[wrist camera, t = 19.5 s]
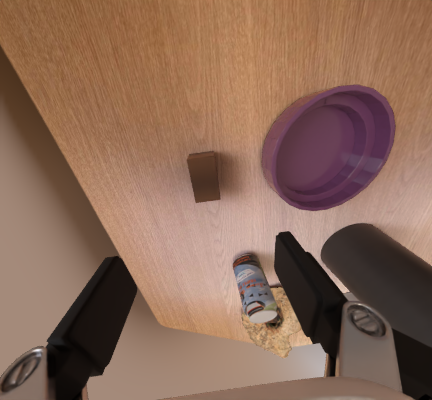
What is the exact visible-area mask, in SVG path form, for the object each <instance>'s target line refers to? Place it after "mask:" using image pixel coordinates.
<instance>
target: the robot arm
mask: <svg viewBox="0 0 432 400" xmlns="http://www.w3.org/2000/svg"><path fill="white" fill-rule="evenodd" d="M274 269H275V272H276V274H277V276H278V279H279V281H280V283H281V285H282V287H283V289H284V291H285V294H286V296H287V298H288V300H289V302H290V304H291V306H292V308H293V311H294V313H295V315H296V317H297V319H298V321H299V323H300V325H301V328H302V330H303V332H304V334H305V335H306V336H307V337H310V339H311V341H312V343H313V344H316V343H320V344H321V346H322V347H323V349H324V351H325V352H326V353H327V354H326V364H325V374H324V377H319V378H310V379H301V380H292V381H284V382H276V383H270V384H262V385H255V386H248V387H241V388H234V389H227V390H220V391H213V392H207V393H200V394H193V395H186V396H180V397H173V398H166V399H159V400H432V348H431V347H429V346H427V345H425V344H423V343H421V342H419V341H417V340H415V339H413V338H411V337H409V336H407V335H405V334H403V333H401V332H399V331H397V330H395V329H393V328H391V326H390V324H389V323H388V321H387V320H386V318H385V317H384V316H383V315H382V314H381V313H380V312H378V311H377V310H376V309H374V308H373V307H371V306H369V305H367V304H365V303H363V302H360V301H348V299H347V298H346V297H345V296H344V294H343V293H342V292H341V291H340V289H339V288H338V287H337V286H336V284H335V283H334V282H333V281H332V279H331V278H330V277H329V276H328V274H327V273H326V272H325V271H324V269H323V268H322V267H321V266H320V264H319V263H318V262H317V261H316V259H315V258H314V257H313V256H312V255H311V254H310V253H309V252H305V251H304V249H303V248H302V247H301V245H300V244H299V243H298V241H297V240H296V239H295V238H294V236H293V235H292V234H291V232H289V231H287V232H280V233H279V234H278V235H277V236H276V243H275V261H274ZM136 293H137V286H136V284H135V282H134V280H133V278H132V276H131V275H130V273H129V271H128V269H127V267H126V265H125V264H124V262H123V260H122V259H121V258H119V257H118V256H114V257H107V258H105V260H104V261H103V262H102V264H101V265H100V266H99V268H98V269H97V271H96V272H95V274H94V275H93V276H92V278H91V279H90V281H89V282H88V283H87V285H86V286H85V288H84V289H83V290H82V292H81V293H80V295H79V296H78V297H77V299H76V300H75V302H74V303H73V304H72V306H71V307H70V309H69V310H68V311H67V313H66V314H65V316H64V317H63V318H62V320H61V321H60V323H59V324H58V326H57V327H56V328H55V330H54V331H53V333H52V334H51V336H50V337H49V338H48V340H47V342H48V345H47V346H46V347H43V346H38V347H35V348H32V349H31V350H29V351H27V352H25V353H24V354H23V355H21V356H20V357H19V358H18V359H16V360H15V361H14V362H13V363H12V364H11V365H10V366H9V367H8V368H7V369H6V371H5V372H4V373H3V374H2V375H1V377H0V400H88V392H87V385H86V383H87V381H88V379H89V377H92V376H99V375H102V374H103V372H104V369H105V367H106V366H107V365H108V364H109V362H110V360H111V358H112V355H113V352H114V350H115V347H116V345H117V342H118V340H119V337H120V334H121V332H122V329H123V327H124V324H125V322H126V319H127V316H128V314H129V311H130V309H131V306H132V304H133V301H134V298H135V295H136Z"/></svg>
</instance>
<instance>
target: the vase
mask: <svg viewBox="0 0 432 400" xmlns="http://www.w3.org/2000/svg"><path fill="white" fill-rule="evenodd" d="M321 259H322V261H323V263H324V264H325V265H326V266H327V267H328V268H329V269H330V270H331V271H332V273H333V274H334V275H335V276H336V277H337V278H338V279H339V280H340V281H341V282H342V283H343V284H344V285H345V287H346V288H347V289H348V290H349V291H350V292H351V293H352V294H353V295H354V296H355V297H356V298H357V299H358V300H359V301H360V302H363V303H365V304H367V305H369V306H371V307H373V308H374V309H376V310H377V311H378V312H380V313H381V314H382V315H383V316H384V317H385V318H386V320H387V321H388V323H389V324H390V326H391V328H393V329H395V330H397V331H399V332H401V333H403V334H405V335H407V336H409V337H411V338H413V339H415V340H417V341H419V342H421V343H423V344H425V345H427V346H429V347H431V348H432V266H431V265H430V264H428V263H427V262H425V261H424V260H422V259H421V258H420V257H418V256H416V255H415V254H414V253H412V252H411V251H409V250H408V249H407V248H405V247H404V246H402V245H401V244H400V243H398V242H396V241H395V240H394V239H392V238H391V237H389V236H388V235H387V234H385V233H383V232H382V231H381V230H379V229H378V228H376V227H375V226H373V225H370V224H354V225H351V226H348V227H345V228H343V229H341V230H339V231H338V232H336V233H335V234H333V235H332V236H331V237H330V238H329V239H328V240H327V241H326V243H325V244H324V246H323V248H322V251H321Z"/></svg>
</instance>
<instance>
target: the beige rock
mask: <svg viewBox="0 0 432 400" xmlns="http://www.w3.org/2000/svg"><path fill="white" fill-rule="evenodd" d="M270 289H271V291H272V294H273V296H274V298H275V301H276V303H277V309H276V312H277V316H276V317H275V318H274V319H272V320H270V321H267V322H264V323H251V322H250V320H249V318H248V317H247V316H246V315H245V313H244V312H243V314H242V321H243V325H244V327H245V329H246V331H247V333H248V334H249V336H250V339H251V340H252V341H253V342H254V343H255V344H256V345H257V346H259V347H261V348H263V349H265V350H267V351H270V352H273V353H274V354H276V355H278V356H280V357H281V358H286V357H287V356H288V353H289V351H290V350H291V349H292V348H291V346H290V342H289V336H290V335H292V334H294V333H297V332H299V331H300V330H301V325H300V323H299V321H298V319H297V317H296V315H295V313H294V311H293V308H292V306H291V304H290V302H289V300H288V298H287V296H286V294H285V291H284V289H283V288H281V287H278V289H277V288H270ZM280 317H281V318H280Z"/></svg>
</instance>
